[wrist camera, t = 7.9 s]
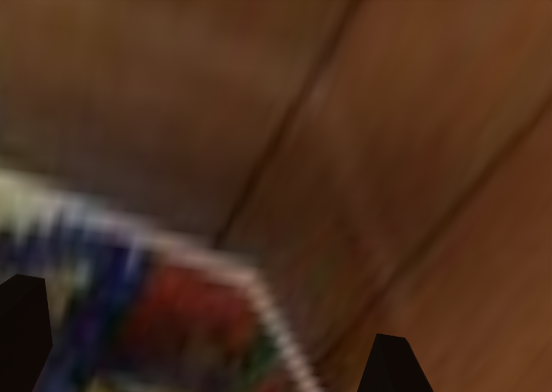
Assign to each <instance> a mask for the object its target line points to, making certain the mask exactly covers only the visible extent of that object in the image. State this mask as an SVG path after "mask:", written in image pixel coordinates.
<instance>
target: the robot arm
mask: <svg viewBox="0 0 552 392" xmlns="http://www.w3.org/2000/svg"><path fill="white" fill-rule="evenodd" d="M52 346H53V344H52V336H51V327H50V319H49V311H48V302H47V294H46V286H45V279H44V278H38V277H31V276H25V275H19V274H16V275H15V276H13V277H11V278H10V279H8V280H7V281H5V282H4V283H2V284H1V285H0V392H32V390H33V388H34V386H35V384H36V382H37V379H38V377H39V375H40V373H41V371H42V369H43V367H44V364H45V362H46V360H47V357H48V355H49V353H50V351H51V348H52ZM357 392H433V390H432V388H431V386H430V384H429V382H428V380H427V378H426V376H425V375H424V373H423V371H422V369H421V367H420V365H419V363H418V361H417V359H416V357H415V355H414V353H413V351H412V349H411V347H410V345H409V343H408V341H407V340H406V338H403V337H397V336H391V335H384V334H378V333H377V334H376V337H375V340H374V343H373V346H372V349H371V352H370V355H369V358H368V361H367V364H366V367H365V370H364V373H363V376H362V379H361V382H360V385H359V388H358V390H357Z"/></svg>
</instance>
